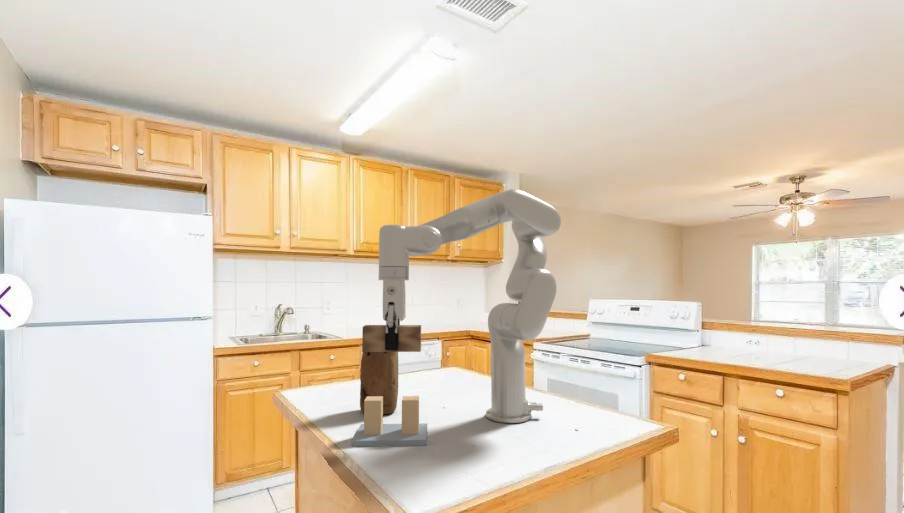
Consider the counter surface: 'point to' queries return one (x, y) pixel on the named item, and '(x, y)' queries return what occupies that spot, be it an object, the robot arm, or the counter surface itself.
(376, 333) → the beam
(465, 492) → the counter surface
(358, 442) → the base
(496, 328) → the robot arm
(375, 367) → the brown rounded tall lump
